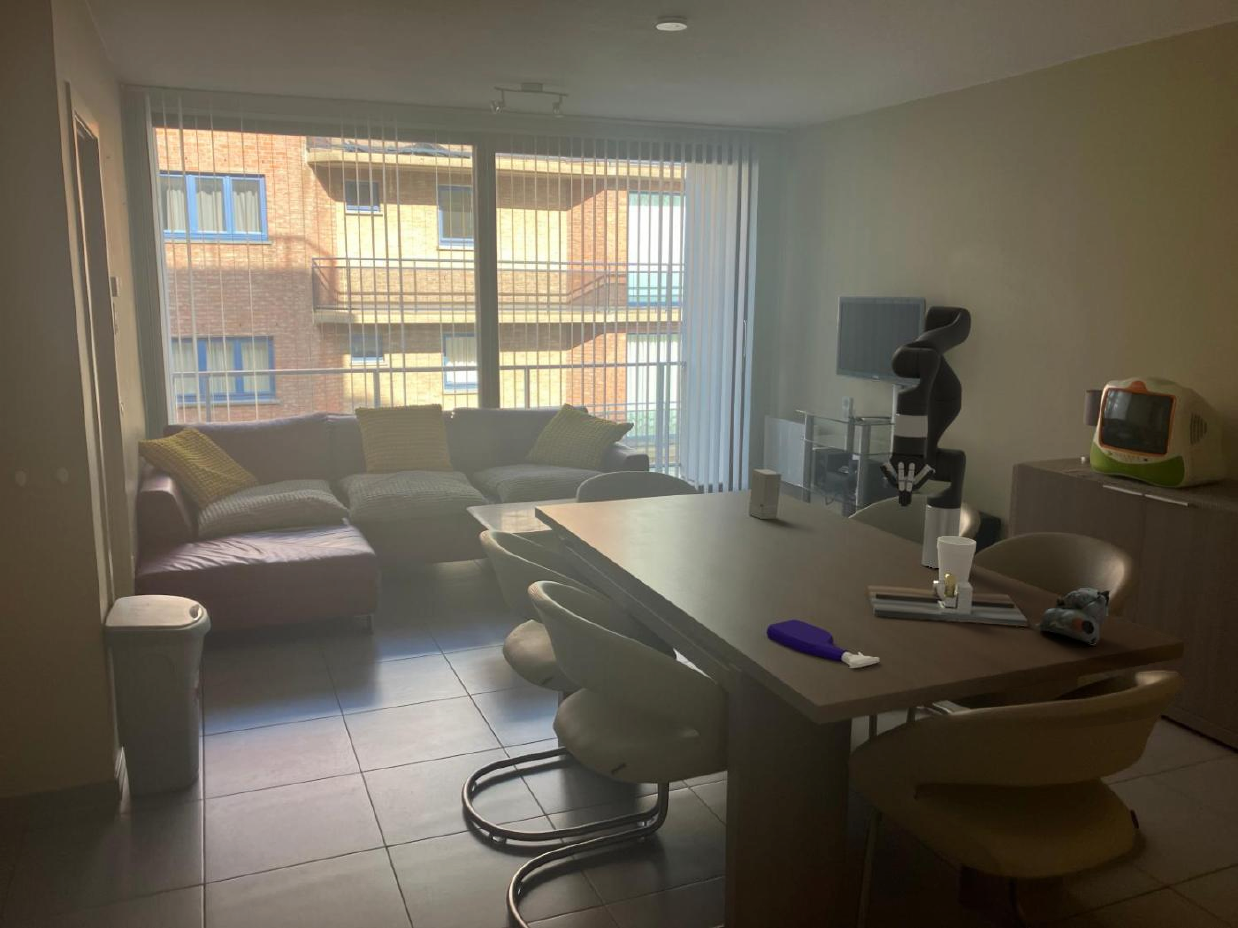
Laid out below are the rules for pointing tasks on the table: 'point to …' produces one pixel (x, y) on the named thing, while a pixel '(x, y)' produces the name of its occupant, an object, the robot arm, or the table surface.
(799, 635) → the spray bottle
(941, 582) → the swing bar
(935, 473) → the robot arm
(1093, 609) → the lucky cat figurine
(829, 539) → the table surface
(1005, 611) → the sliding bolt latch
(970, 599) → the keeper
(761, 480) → the skincare box
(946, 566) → the foam cup
